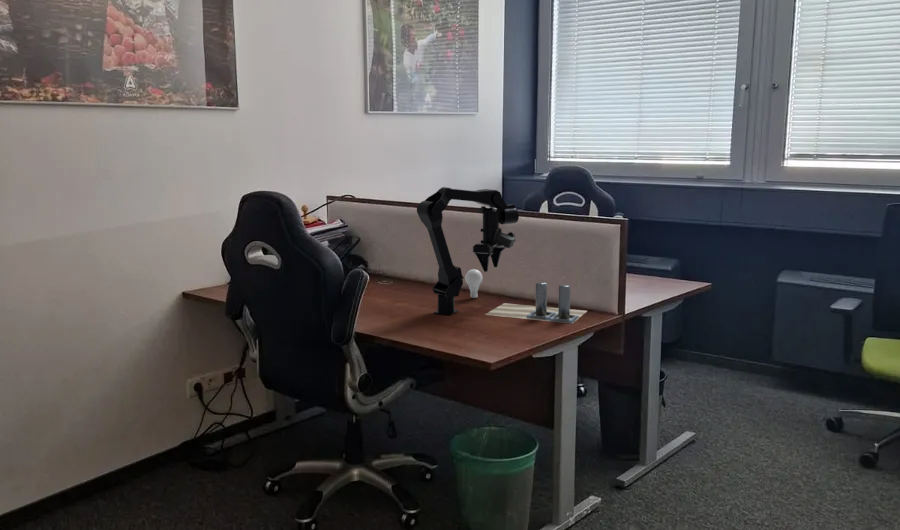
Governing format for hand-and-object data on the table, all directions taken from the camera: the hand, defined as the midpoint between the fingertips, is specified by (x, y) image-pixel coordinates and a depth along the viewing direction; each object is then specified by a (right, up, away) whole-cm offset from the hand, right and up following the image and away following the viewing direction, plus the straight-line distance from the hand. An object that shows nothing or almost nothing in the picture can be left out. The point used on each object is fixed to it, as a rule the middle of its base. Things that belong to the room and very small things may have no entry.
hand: (490, 269), depth 265 cm
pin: (+15, -15, -19) cm, 29 cm away
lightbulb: (-6, -11, +14) cm, 18 cm away
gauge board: (+14, -16, -14) cm, 25 cm away
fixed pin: (+22, -16, -23) cm, 36 cm away
